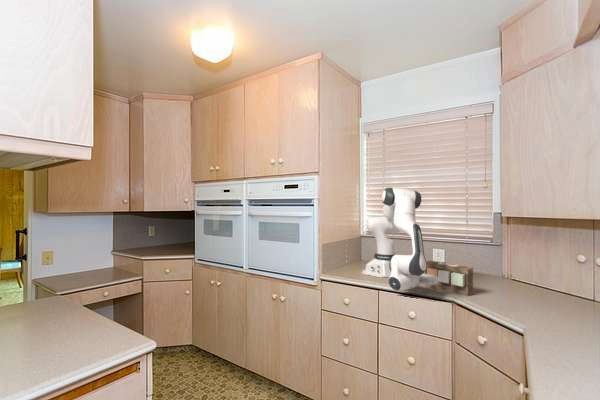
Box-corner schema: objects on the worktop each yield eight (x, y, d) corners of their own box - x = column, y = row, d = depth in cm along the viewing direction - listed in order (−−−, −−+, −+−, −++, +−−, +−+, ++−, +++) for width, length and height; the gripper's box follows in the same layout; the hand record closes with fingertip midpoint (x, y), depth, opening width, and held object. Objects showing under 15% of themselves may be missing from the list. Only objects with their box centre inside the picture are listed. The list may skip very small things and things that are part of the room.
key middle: (437, 281, 173) (437, 270, 173) (441, 279, 176) (442, 269, 176) (448, 283, 168) (448, 272, 168) (452, 282, 171) (452, 271, 171)
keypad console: (425, 285, 182) (425, 260, 181) (430, 283, 185) (430, 259, 185) (467, 296, 163) (467, 268, 162) (472, 293, 166) (473, 266, 166)
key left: (427, 277, 180) (427, 267, 180) (431, 276, 183) (431, 266, 183) (436, 280, 175) (437, 269, 175) (441, 278, 178) (441, 268, 178)
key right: (451, 284, 167) (451, 273, 167) (455, 282, 170) (455, 271, 170) (462, 286, 162) (462, 275, 162) (466, 285, 165) (466, 274, 165)
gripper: (430, 276, 157) (444, 272, 165) (395, 269, 173) (409, 266, 181) (430, 289, 157) (444, 284, 165) (395, 280, 173) (409, 277, 181)
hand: (426, 275), depth 173 cm, fingers closed
